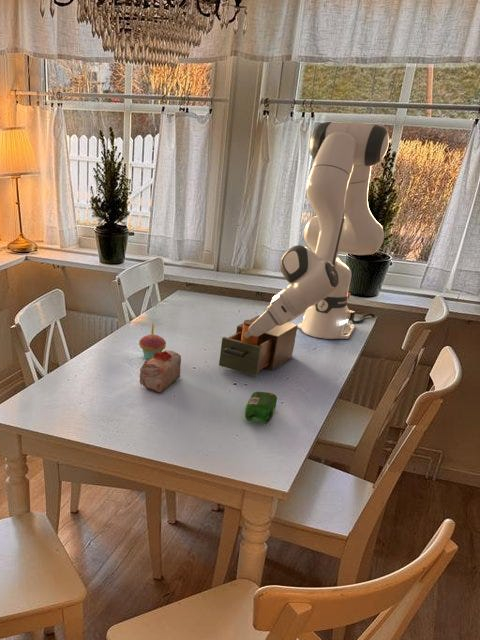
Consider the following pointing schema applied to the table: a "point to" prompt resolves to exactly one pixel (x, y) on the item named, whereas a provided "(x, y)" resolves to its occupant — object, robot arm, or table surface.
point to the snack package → (260, 407)
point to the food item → (160, 370)
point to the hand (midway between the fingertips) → (248, 332)
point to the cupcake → (152, 344)
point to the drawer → (246, 354)
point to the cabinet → (279, 342)
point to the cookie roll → (246, 325)
